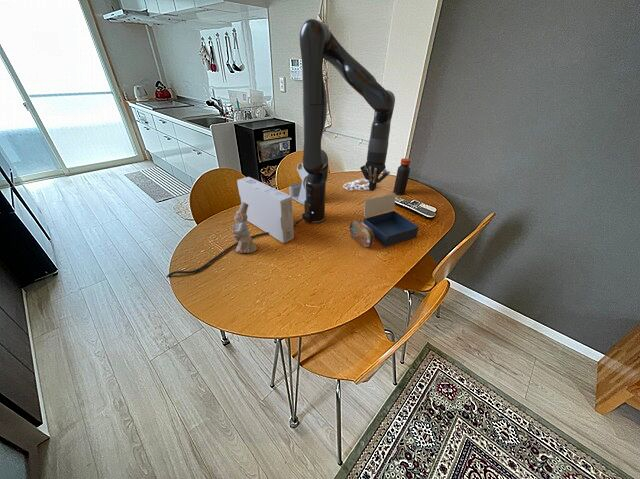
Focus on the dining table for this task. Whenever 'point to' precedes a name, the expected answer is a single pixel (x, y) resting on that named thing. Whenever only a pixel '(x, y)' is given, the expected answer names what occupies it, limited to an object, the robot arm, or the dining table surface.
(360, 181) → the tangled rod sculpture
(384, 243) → the carton
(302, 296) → the dining table surface
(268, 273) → the dining table surface
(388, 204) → the carton flap
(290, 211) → the packaging
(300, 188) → the phone holder
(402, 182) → the bottle
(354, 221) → the tin
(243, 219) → the figurine
